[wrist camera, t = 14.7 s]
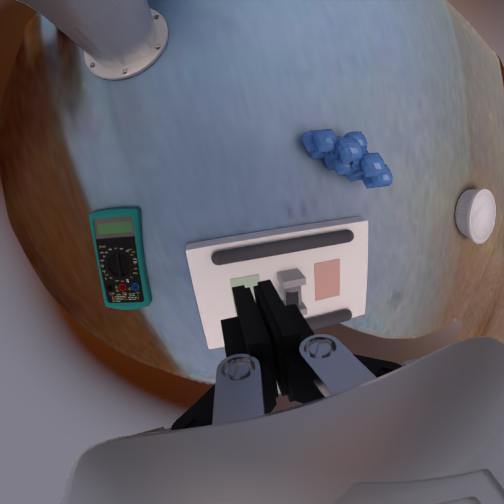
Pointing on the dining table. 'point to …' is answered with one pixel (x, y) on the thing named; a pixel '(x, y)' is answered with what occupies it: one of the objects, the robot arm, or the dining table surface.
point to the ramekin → (476, 214)
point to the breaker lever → (293, 296)
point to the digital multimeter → (120, 257)
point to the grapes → (348, 156)
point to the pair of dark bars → (289, 247)
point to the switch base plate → (283, 273)
